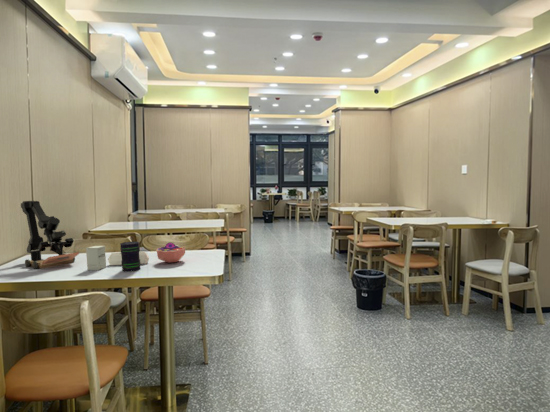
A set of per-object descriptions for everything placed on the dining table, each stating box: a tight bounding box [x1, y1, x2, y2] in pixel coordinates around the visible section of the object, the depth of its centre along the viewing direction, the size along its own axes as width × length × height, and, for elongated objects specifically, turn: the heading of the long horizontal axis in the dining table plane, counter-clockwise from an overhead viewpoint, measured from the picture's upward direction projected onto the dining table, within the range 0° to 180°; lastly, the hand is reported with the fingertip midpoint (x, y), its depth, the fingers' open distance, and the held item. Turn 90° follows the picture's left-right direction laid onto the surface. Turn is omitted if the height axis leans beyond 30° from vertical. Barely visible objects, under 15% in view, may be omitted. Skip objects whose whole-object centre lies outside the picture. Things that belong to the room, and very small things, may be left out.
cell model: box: [155, 242, 186, 264], centre depth 246 cm, size 17×20×11 cm
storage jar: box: [119, 241, 142, 273], centre depth 229 cm, size 10×10×15 cm
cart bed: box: [24, 252, 76, 270], centre depth 255 cm, size 18×23×4 cm
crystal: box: [107, 251, 150, 266], centre depth 247 cm, size 7×7×24 cm
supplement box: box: [85, 245, 107, 271], centre depth 235 cm, size 7×7×13 cm
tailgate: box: [42, 251, 80, 265], centre depth 246 cm, size 2×17×11 cm
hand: (61, 255), depth 245 cm, fingers closed
